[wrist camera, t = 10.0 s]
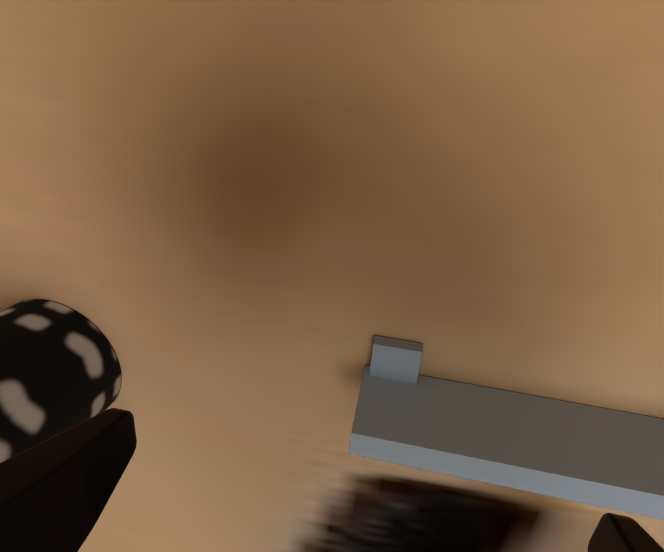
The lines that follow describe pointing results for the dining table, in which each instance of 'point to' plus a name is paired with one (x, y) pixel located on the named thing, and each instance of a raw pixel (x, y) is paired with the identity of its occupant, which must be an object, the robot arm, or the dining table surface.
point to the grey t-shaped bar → (506, 436)
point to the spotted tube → (50, 373)
